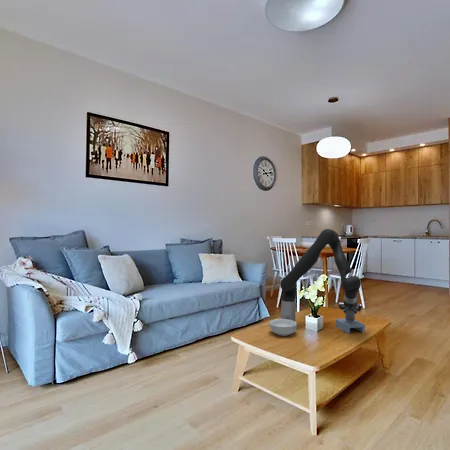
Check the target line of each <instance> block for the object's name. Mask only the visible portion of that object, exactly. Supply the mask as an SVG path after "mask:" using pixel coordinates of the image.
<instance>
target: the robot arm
mask: <svg viewBox="0 0 450 450" xmlns="http://www.w3.org/2000/svg"><path fill="white" fill-rule="evenodd" d="M340 240H341V239H340V237H339V234H338V233H337V232H336V231H335V230H333V229H330V228H325V229H323V230H322V231H321V232H320V234H319V235H318V236H317V238H316V239H315V241H314V242H313V244H311V246H309V248H308V249H307V250H306V251H305V253H303V255H302V256H301V257H300V258H299V259H298V260H297V262H296V264H295V265H294V266H293V267H292V269H291V270H290V272H289V273H288V274H286V275H285V276H284V277H283V278H281V280H280V282H279V287H280V288H281V290H282V294H281V310H280V319H288V320H293V321H295V322H296V297H297V282H298V281H299V280H300V278H301V277H303V276H304V275H305V274H307V273H308V272H309V271H310V270H311V269H312V268H313V267H314V265H315V264H316V263H317V262H318V260H319V257H320V255H321V253H322V251H323V250H324V248H325V247H326V246H329V248H330V249H331V251H332V253H333V257H334V258H333V259H334V263H335V265H336V268H337V270H338V272H339V276H340V279H341V280H340V281H341V282H340V283H341V286H342V288H343V289H344V295H343V302H341V301H339V302H338V307H339V310H340V311H343V313H344V314H345V312H346V310H347V309H348V308H352V309H353V310H354V311H355V315H356V314H357V313H358V312H361V311H362V308H363V303H361V302H359V303H358V292H359V290H360V288H361V285H362V281H361V278H360V277H359V276H357V275H352V276H348V277H347V275H349V274H350V273H351V272H352V268H351V266H350V262H349V261H348V258H347V257H346V255H345V253H344V251H343V247H342V244H341V241H340Z"/></svg>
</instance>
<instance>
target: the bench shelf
mask: <svg viewBox="0 0 450 450" xmlns="http://www.w3.org/2000/svg"><path fill="white" fill-rule="evenodd" d="M335 327H336V328H338V329H339V330H341V331H343V332H344V333H346V334H351V329H355V330H357V331H359V332H361V333H363V334H364V332H365V333H366V324H365V323H363V322H360V321H359V320H356V319H355V321H348V320H346V318H336V319H335Z"/></svg>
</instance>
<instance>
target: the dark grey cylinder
mask: <svg viewBox="0 0 450 450" xmlns="http://www.w3.org/2000/svg"><path fill="white" fill-rule="evenodd" d="M344 314H345V315H344V316H345V319H346V320H348V321H355V320H356V314H355V311H354V310H353V309H352V308H348V309H347V310H346V312H345V313H344Z"/></svg>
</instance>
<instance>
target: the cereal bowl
mask: <svg viewBox="0 0 450 450" xmlns="http://www.w3.org/2000/svg"><path fill="white" fill-rule="evenodd" d="M297 327H298V323H297V322H296V320H295V321H293V320H288V319H281V318H276V319H272V320H270V321H269V328H270V330H271V331H272V332H273V333H275V334H276V335H278V336H281V337H284V336H285V337H286V336H289V335H291V334H294V333H295V332H296V330H297Z"/></svg>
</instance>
